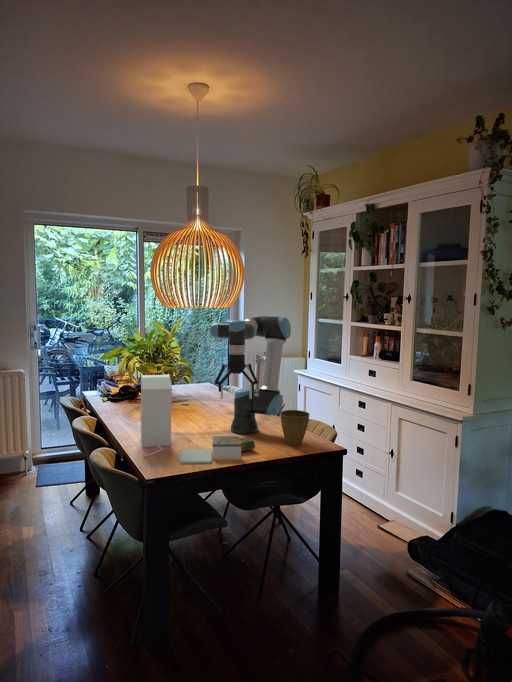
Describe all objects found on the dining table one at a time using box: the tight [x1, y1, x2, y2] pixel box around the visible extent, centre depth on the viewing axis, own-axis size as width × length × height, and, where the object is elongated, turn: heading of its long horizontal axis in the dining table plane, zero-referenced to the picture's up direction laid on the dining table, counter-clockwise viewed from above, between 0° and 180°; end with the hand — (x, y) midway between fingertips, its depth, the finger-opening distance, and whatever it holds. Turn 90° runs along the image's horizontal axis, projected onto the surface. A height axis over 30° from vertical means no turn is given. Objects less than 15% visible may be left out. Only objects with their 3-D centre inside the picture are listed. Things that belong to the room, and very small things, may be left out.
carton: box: [218, 436, 256, 452], centre depth 241 cm, size 8×16×4 cm, turn 120°
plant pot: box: [279, 409, 310, 447], centre depth 254 cm, size 15×15×16 cm
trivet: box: [179, 448, 213, 465], centre depth 231 cm, size 18×14×1 cm
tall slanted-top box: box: [139, 373, 173, 458], centre depth 245 cm, size 14×35×35 cm, turn 15°
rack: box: [212, 434, 242, 461], centre depth 238 cm, size 19×13×7 cm
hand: (236, 398), depth 234 cm, fingers open, 13 cm apart
